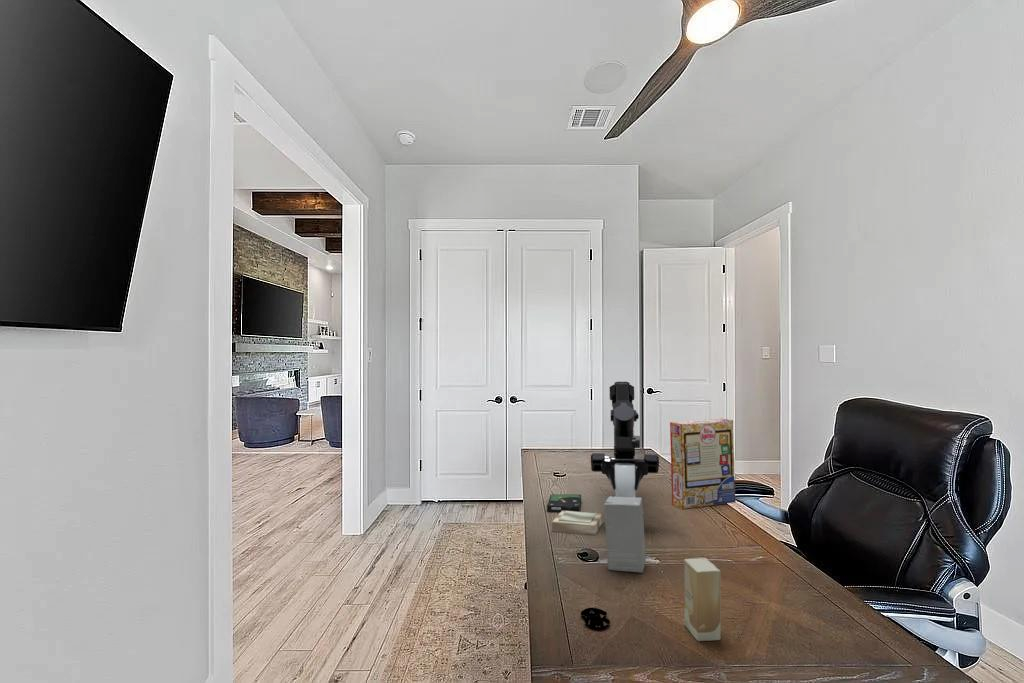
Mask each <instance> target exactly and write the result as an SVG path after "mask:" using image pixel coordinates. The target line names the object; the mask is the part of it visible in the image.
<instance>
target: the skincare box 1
mask: <svg viewBox="0 0 1024 683" xmlns="http://www.w3.org/2000/svg"><path fill="white" fill-rule="evenodd" d="M603 505H604V507H603V508H604V520H605V521H604V522H605V542H606V544H605V546H606V557H607V558H606V560H607V562H606V563H607V570H608V571H614V572H615V571H618V572H629V573H641V574H642V573H644V570H645V567H646V566H645V565H646V562H647V561H646V559H647V558H646V557H647V556H646V541H645V540H646V539H645V524H644V507H643V506H644V505H643V497H615V496H610V495H609V496H608V497H607V498H606V501H605V502H604V504H603Z"/></svg>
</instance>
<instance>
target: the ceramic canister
mask: <svg viewBox="0 0 1024 683" xmlns="http://www.w3.org/2000/svg"><path fill="white" fill-rule="evenodd" d="M614 497H636V490H635V464H632V463H616V464H615V490H614Z"/></svg>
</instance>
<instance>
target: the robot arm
mask: <svg viewBox="0 0 1024 683" xmlns="http://www.w3.org/2000/svg"><path fill="white" fill-rule="evenodd" d="M609 401H611V407H612V409H610V422H612V425H613V457H611V456H606V453H605V452H602V453H601V452H592V453H591V455H590V466H591V468H590V469H591V470H590V471H592V472H595V473H596V472H597V473H598V472H599V473H601V474H603V475H606V477H607V479H608V481H609V482H610V485H611V487H612V490H613V491H615V464H616V463H632V464H635V492H637V491H638V488H639V485H640V484H641V481H642V480H643V478H644V476H647V475H648V474H658V473H659V471H660V470H659V467H660V457H659V455H658V454H657V453H656V454H653V453H643V458H635V457H636V449H641V436H640V435H635V434H634V433H635V432H634V429H635V422H637V421H638V420H639V419H640V418H639V417H640V416H639V413H638V411H637V410H636V409H635V408H634V404H633V401H635V386H634V385H631V384H630V382H628V381H615V382H614V384H612V385H610V386H609Z"/></svg>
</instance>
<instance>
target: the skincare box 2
mask: <svg viewBox="0 0 1024 683" xmlns="http://www.w3.org/2000/svg"><path fill="white" fill-rule="evenodd" d="M683 563H684V625H685V627H686V628H687V630H688V632H690V634H691V635H692V636H693V638H695V640H696V641H697V642H705V641H707V642H708V641H710V642H711V641H720V640H721V635H722V634H721V630H722V629H721V570H720V569H719V568H718V567H717V566H716V565H715V564H714V563H712V562H711V561H710V560H709V559H708V558H706V557H701V558H700V557H699V558H685V559H684V561H683Z"/></svg>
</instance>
